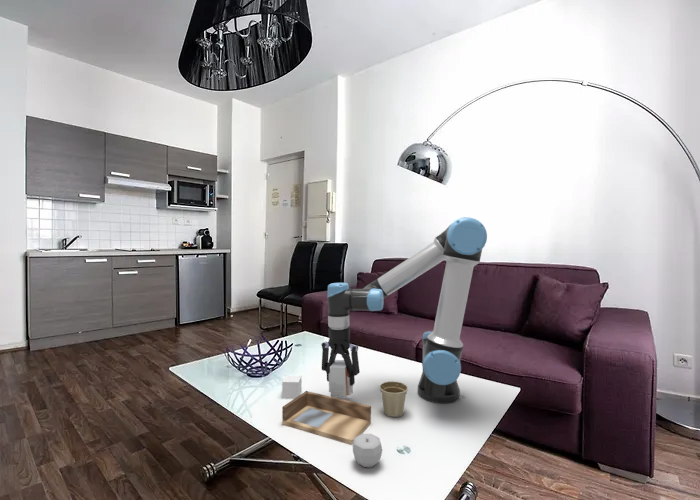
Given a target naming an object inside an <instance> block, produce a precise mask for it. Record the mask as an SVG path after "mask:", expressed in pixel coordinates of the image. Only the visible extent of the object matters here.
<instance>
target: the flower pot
mask: <svg viewBox="0 0 700 500" xmlns="http://www.w3.org/2000/svg"><path fill="white" fill-rule="evenodd" d="M378 387H379V391H380V393H381V397H382V406H383V413H384V414H385V415H386V416H388V417H394V418H398V417H401V416H403V414H404V411H405V409H404V408H405V402H406V401H405V400H406V395H407V393H408V390H409V386H407V384H405V383H403V382H401V381H394V380H391V381H390V380H389V381H384V382H382V383H380V384H379V386H378Z"/></svg>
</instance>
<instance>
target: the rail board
mask: <svg viewBox="0 0 700 500" xmlns="http://www.w3.org/2000/svg"><path fill="white" fill-rule="evenodd" d="M281 414H282V417H281V418H282V419H281V420H282V421H281V422H282V424H281V425H284V426H288V427H291V428H294V429H297V430H300V431H304V432H308V433H311V434H315V435H319V436H321V437H323V438H328V439H331V440H335V441H338V442H341V443H345V444H348V445H352V444H353V441H354V438H355V437H357V436H359V435H360V434H364V432H365V431H366V430H367V428H368V427H369V426H370V425H371V424H372V406H371V405H368V404H366V403H365V404H364V403H360V402H355V401H352V400H348V399H344V398H340V397H331V395H325V394H323V393H322V394H321V393H316V392H313V391H308V390H305V391H304V392H303V393H302V392H301V394H300V395H299V396H298V397H296V398H292V400H290V401H289V402H287V403H285V405H282V413H281ZM352 446H353V445H352Z"/></svg>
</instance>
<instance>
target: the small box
mask: <svg viewBox="0 0 700 500" xmlns="http://www.w3.org/2000/svg"><path fill="white" fill-rule="evenodd" d="M348 375H349V374H348V371H347V368H346V365H345V362H344V359H335V362H334V363H333V364H332V365H331V366H330V391H331V392H330V397H335V398H339V399H346V398H347V397H348V395H347V376H348Z"/></svg>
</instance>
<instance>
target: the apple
mask: <svg viewBox="0 0 700 500" xmlns="http://www.w3.org/2000/svg"><path fill="white" fill-rule="evenodd" d="M352 454H353V456H354V460H355V461H356V463H358V465H360V466H362V467H363V468H372V467H374V466H375V465H376V464H378V463H379V462H380V460H381V458H382V454H383V447H382V443H381V439H380V437H378V436H376V435H375V434H373V433H362V434H360V435H359V436H357V437H355V438H354V441H353V444H352Z"/></svg>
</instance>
